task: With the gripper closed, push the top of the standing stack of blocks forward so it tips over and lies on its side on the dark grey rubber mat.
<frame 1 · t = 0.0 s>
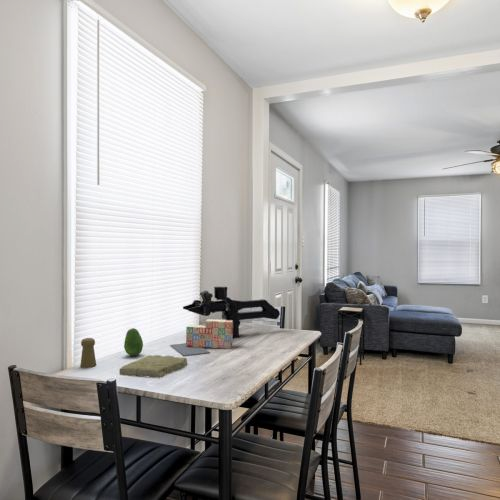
hand: (185, 308, 207), 17 cm above the table, tool horizontal, fingers open, 9 cm apart
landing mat: (189, 349, 190), on the table
decorative tile: (155, 370, 158), on the table
avocado: (133, 356, 179), on the table
stack of blocks: (209, 346, 194), on the table, touching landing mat
cork: (88, 366, 163), on the table
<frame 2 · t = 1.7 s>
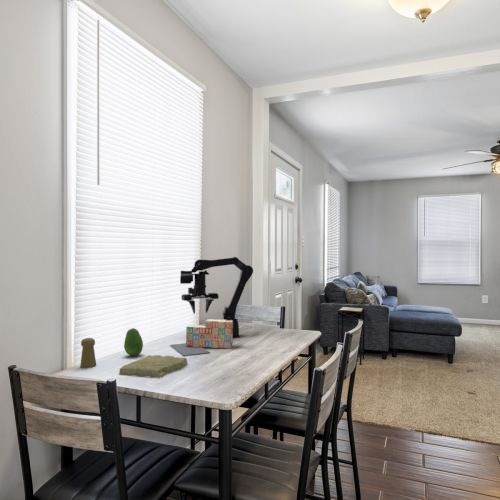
hand: (200, 313, 215), 13 cm above the table, tool pointing down, fingers open, 6 cm apart
nothing on the table moved.
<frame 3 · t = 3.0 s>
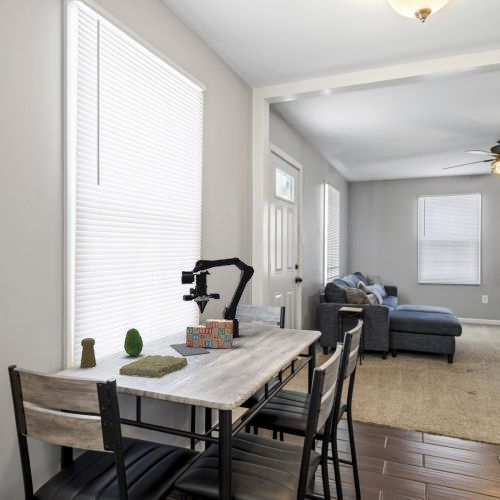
hand: (201, 313, 214), 13 cm above the table, tool pointing down, fingers closed
nothing on the table moved.
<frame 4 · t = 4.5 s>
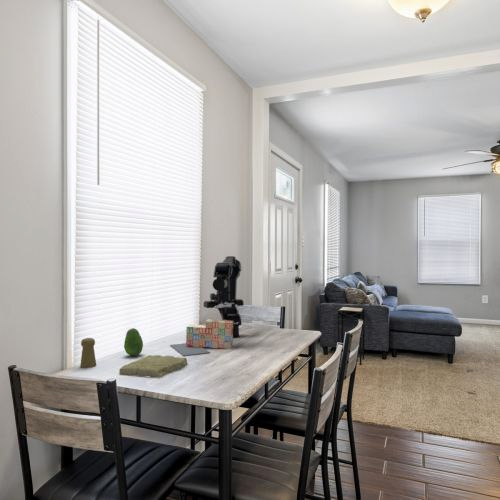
hand: (223, 321, 197), 11 cm above the table, tool pointing down, fingers closed
stack of blocks: (209, 346, 194), on the table, touching gripper, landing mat
everything else where it was.
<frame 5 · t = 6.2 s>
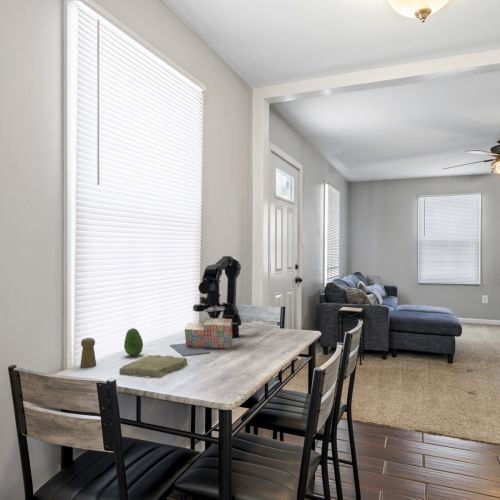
hand: (213, 325, 195), 10 cm above the table, tool pointing down, fingers closed
stack of blocks: (209, 344, 194), point 1 cm above the table, touching gripper, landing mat
everything else where it was.
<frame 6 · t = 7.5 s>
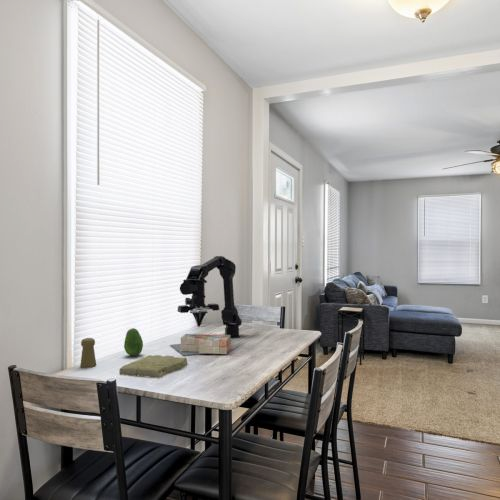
hand: (198, 326, 192), 10 cm above the table, tool pointing down, fingers closed
stack of blocks: (208, 340, 191), point 3 cm above the table, touching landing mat
everything else where it was.
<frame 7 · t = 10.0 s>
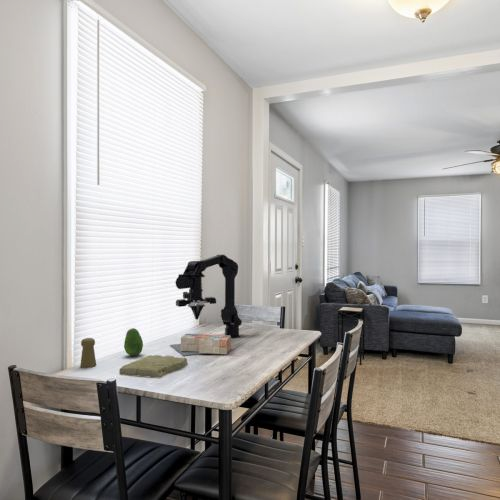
hand: (196, 319, 197), 13 cm above the table, tool pointing down, fingers closed
stack of blocks: (208, 340, 191), point 3 cm above the table, touching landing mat
everything else where it was.
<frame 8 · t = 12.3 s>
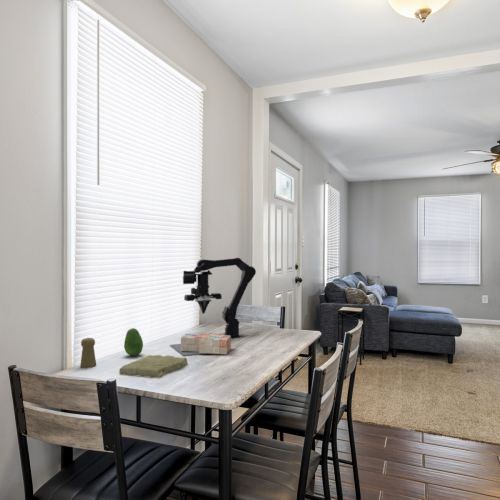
hand: (203, 313, 214), 13 cm above the table, tool pointing down, fingers closed
nothing on the table moved.
at the end: stack of blocks tilted 89°; stack of blocks inside the target area (3.9 cm from its centre), point 3.4 cm above the table; stack of blocks touching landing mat, table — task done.
